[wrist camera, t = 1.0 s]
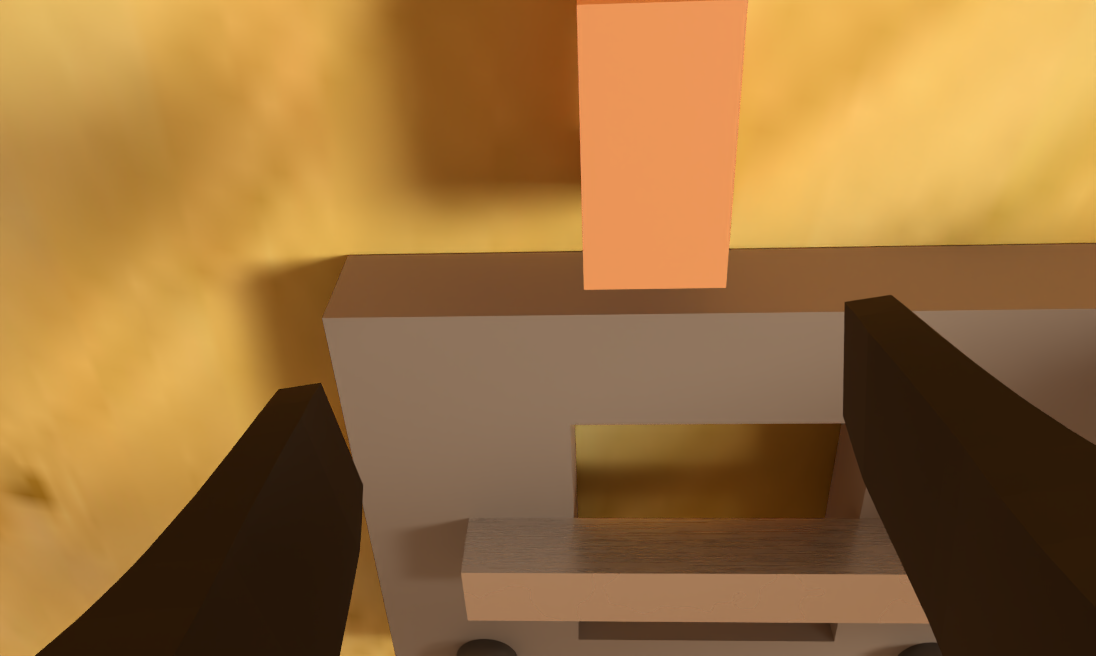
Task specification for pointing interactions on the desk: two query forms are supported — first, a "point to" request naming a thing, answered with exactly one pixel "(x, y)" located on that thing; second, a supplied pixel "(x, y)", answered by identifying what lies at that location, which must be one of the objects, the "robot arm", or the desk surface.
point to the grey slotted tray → (656, 398)
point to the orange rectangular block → (658, 139)
